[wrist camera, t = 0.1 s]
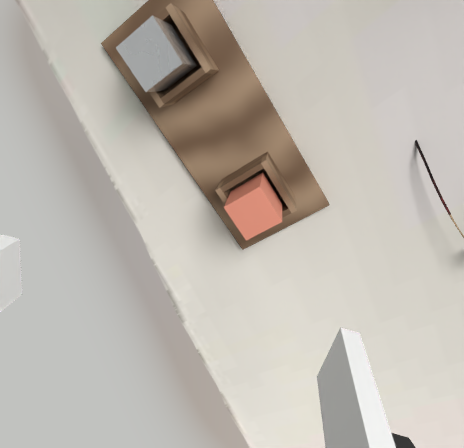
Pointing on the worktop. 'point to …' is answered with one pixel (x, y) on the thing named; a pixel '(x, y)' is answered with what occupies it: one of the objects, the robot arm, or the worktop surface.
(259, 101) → the socket panel
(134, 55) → the steel plug
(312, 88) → the worktop surface
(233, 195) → the salmon pink plug
